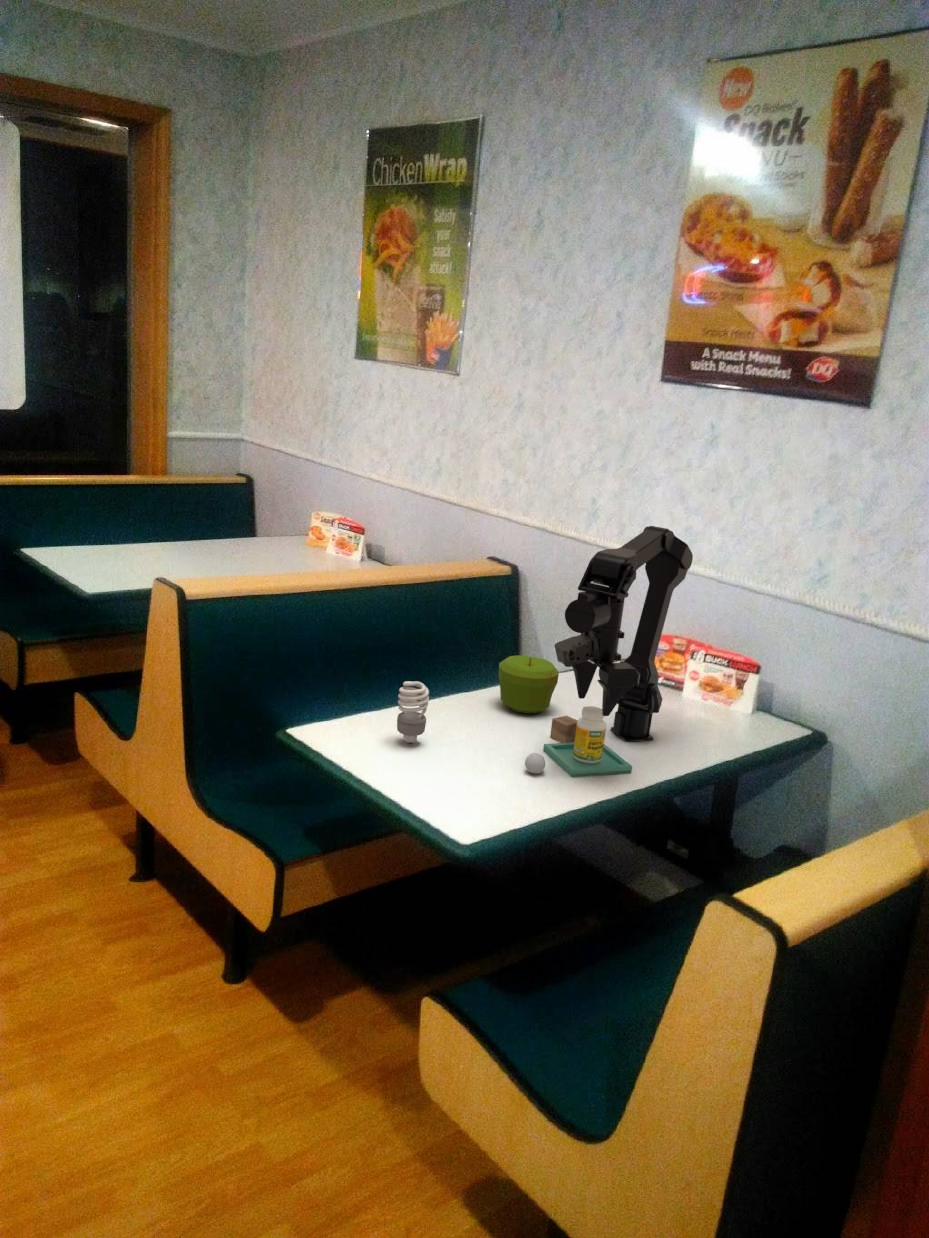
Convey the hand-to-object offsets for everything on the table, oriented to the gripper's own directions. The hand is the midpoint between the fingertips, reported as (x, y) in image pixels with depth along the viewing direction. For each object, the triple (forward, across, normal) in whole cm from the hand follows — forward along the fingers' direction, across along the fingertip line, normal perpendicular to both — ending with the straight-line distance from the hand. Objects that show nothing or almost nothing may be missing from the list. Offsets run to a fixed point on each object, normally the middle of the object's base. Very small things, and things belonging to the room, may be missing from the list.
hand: (593, 706), depth 176 cm
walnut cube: (+11, -11, +1) cm, 16 cm away
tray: (+11, 0, 0) cm, 11 cm away
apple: (+11, -28, 0) cm, 30 cm away
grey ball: (+11, +3, -12) cm, 16 cm away
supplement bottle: (+10, 0, 0) cm, 10 cm away
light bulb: (+11, -13, -30) cm, 34 cm away
